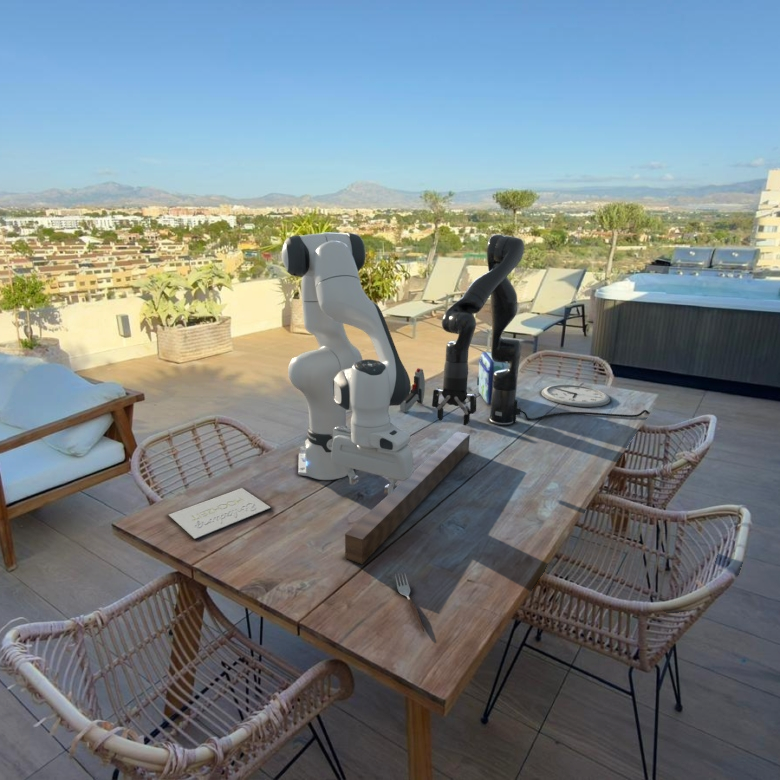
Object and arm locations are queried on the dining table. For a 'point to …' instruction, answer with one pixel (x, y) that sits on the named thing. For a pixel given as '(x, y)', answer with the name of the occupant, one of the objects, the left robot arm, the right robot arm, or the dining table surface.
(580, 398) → the wall clock
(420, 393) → the toy gun
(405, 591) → the fork
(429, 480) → the post
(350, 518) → the dining table surface
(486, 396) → the lunch box
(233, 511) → the invitation card
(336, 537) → the dining table surface
